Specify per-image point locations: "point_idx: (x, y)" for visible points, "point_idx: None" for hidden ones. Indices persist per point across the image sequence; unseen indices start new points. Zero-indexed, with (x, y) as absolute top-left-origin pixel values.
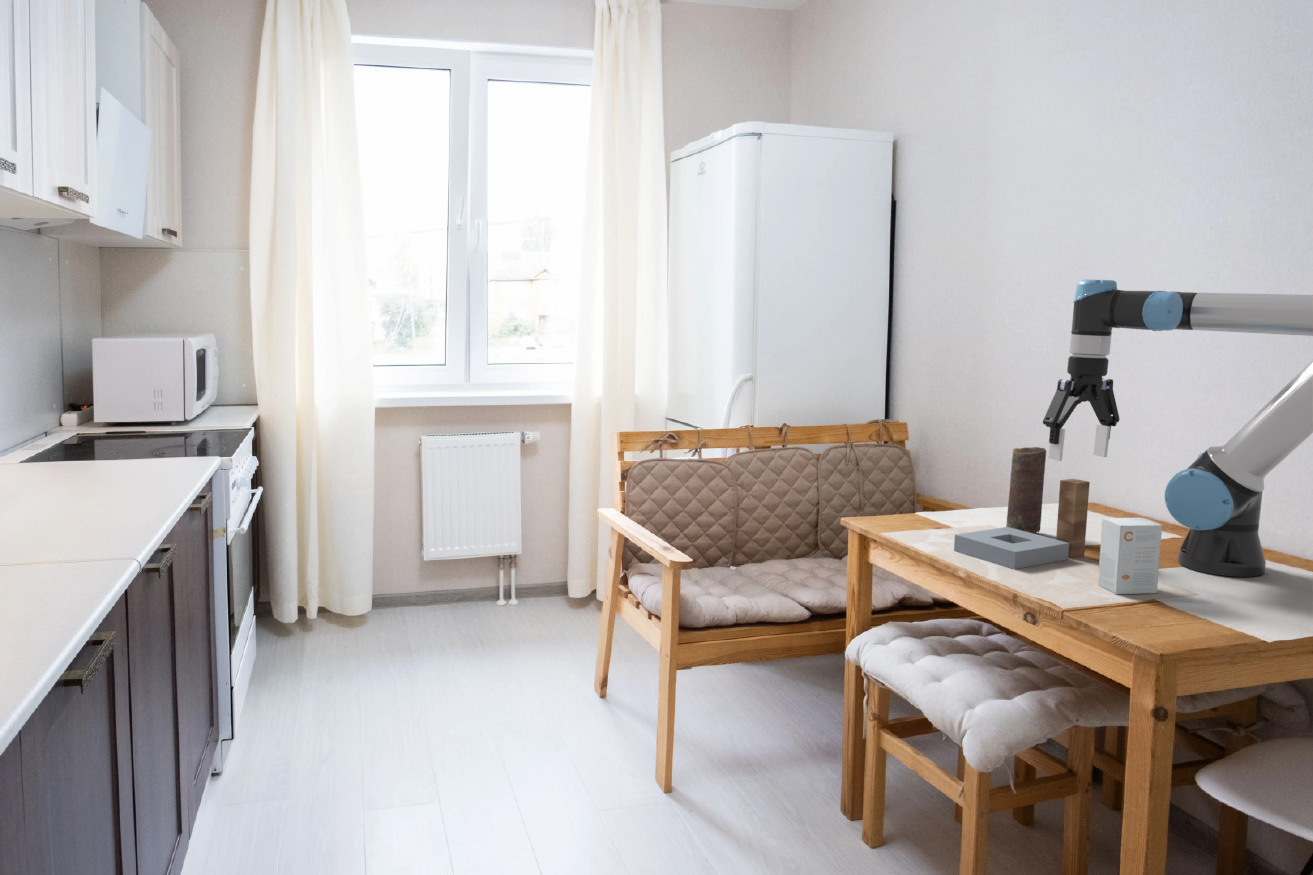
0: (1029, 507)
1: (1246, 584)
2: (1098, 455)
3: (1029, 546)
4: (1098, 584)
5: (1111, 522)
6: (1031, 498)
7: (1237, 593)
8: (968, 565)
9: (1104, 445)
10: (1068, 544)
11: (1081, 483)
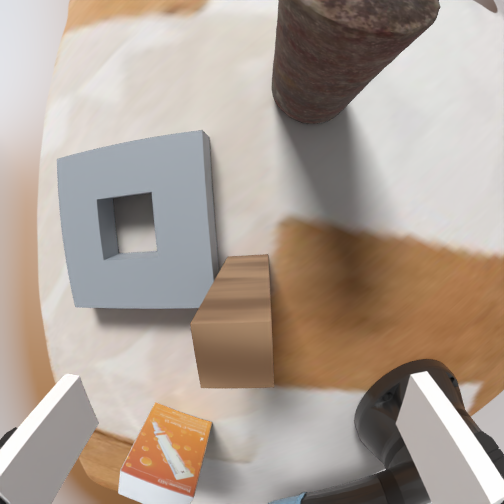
0: (296, 101)
1: (346, 456)
2: (405, 399)
3: (119, 291)
4: (154, 403)
5: (119, 482)
6: (304, 95)
7: (297, 471)
8: (46, 248)
9: (417, 458)
10: None
11: (227, 386)
